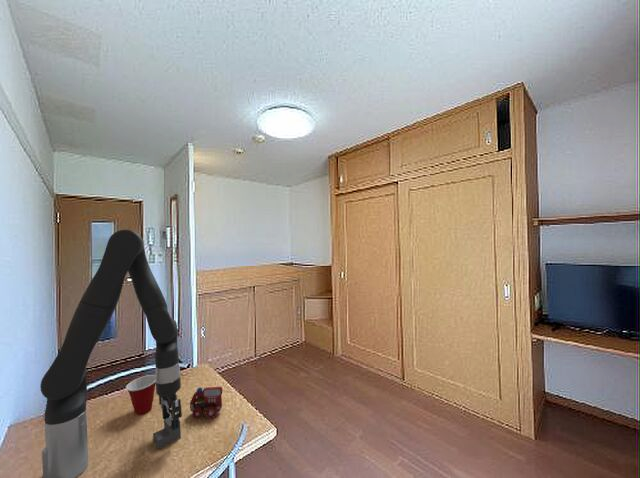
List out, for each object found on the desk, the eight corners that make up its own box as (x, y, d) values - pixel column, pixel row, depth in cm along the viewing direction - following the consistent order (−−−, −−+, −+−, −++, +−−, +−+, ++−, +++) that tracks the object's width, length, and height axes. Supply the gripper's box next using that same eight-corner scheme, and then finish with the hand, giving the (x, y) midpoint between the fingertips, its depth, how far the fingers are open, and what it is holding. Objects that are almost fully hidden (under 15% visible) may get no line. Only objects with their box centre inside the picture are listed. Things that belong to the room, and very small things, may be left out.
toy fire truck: (195, 408, 115) (194, 382, 115) (225, 407, 115) (225, 382, 115) (187, 419, 108) (186, 392, 108) (219, 418, 108) (219, 391, 108)
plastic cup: (125, 409, 115) (124, 380, 115) (156, 399, 121) (155, 372, 121) (127, 423, 106) (126, 391, 106) (160, 412, 113) (159, 382, 113)
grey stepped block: (158, 449, 93) (157, 431, 93) (153, 442, 96) (152, 424, 96) (180, 438, 98) (180, 420, 98) (175, 431, 101) (174, 414, 101)
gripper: (149, 374, 100) (152, 420, 100) (163, 389, 90) (166, 439, 90) (172, 366, 105) (174, 409, 106) (187, 379, 95) (190, 426, 96)
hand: (170, 423), depth 98 cm, fingers open, 8 cm apart
